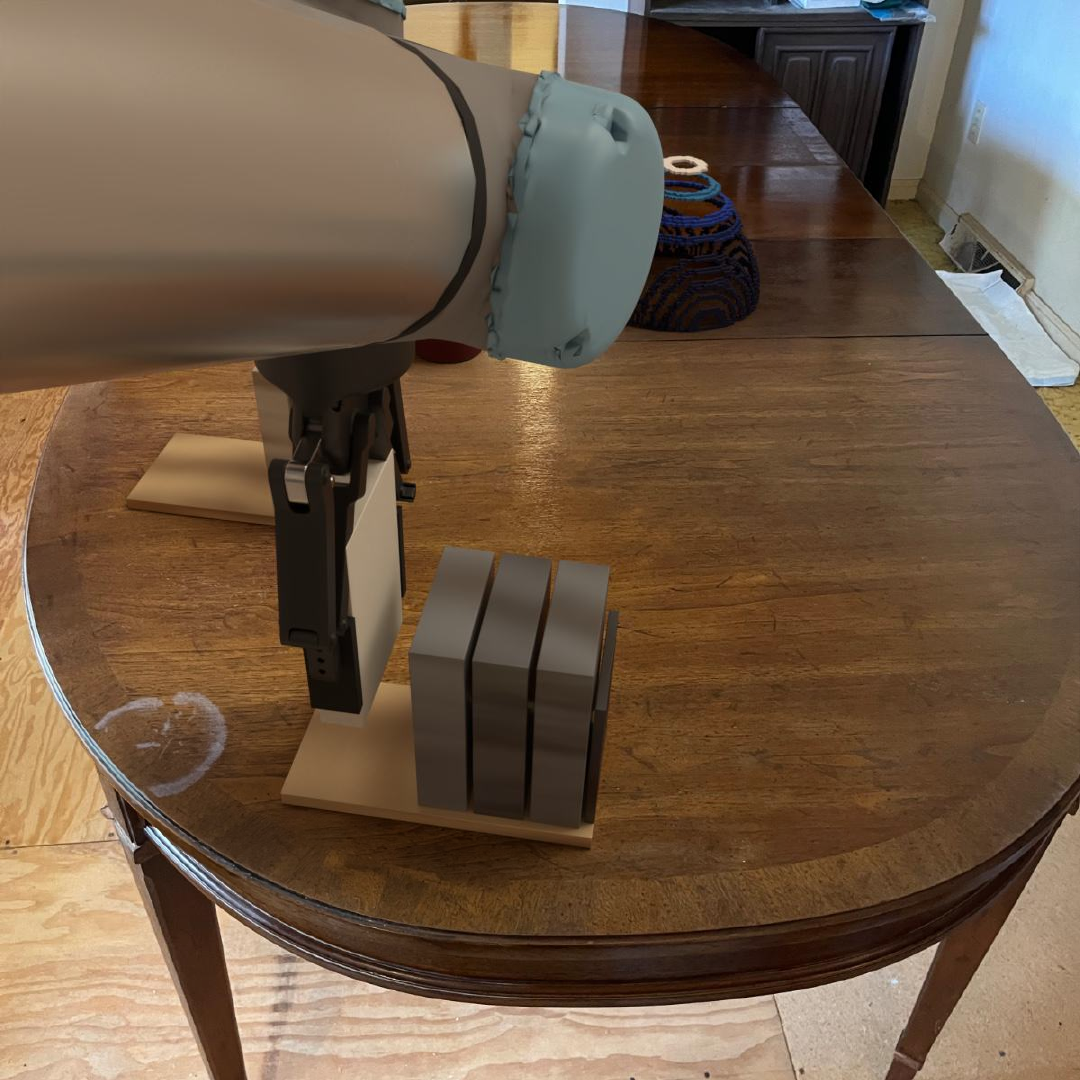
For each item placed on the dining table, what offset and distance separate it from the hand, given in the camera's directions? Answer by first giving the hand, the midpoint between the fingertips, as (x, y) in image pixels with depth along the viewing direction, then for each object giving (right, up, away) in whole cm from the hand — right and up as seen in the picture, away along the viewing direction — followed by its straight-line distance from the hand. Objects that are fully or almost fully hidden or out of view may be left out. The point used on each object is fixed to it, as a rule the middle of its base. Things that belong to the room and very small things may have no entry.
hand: (361, 645), depth 62 cm
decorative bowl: (+25, +35, +60) cm, 74 cm away
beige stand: (-13, +11, +28) cm, 33 cm away
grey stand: (+5, -8, +6) cm, 11 cm away
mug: (-1, +26, +47) cm, 54 cm away
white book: (0, -2, +1) cm, 2 cm away
